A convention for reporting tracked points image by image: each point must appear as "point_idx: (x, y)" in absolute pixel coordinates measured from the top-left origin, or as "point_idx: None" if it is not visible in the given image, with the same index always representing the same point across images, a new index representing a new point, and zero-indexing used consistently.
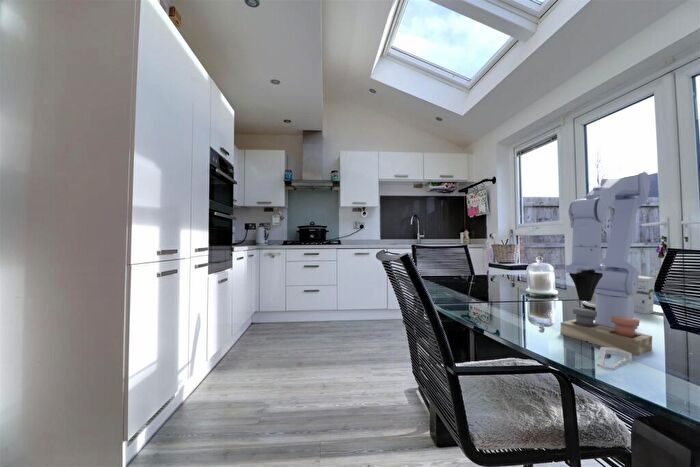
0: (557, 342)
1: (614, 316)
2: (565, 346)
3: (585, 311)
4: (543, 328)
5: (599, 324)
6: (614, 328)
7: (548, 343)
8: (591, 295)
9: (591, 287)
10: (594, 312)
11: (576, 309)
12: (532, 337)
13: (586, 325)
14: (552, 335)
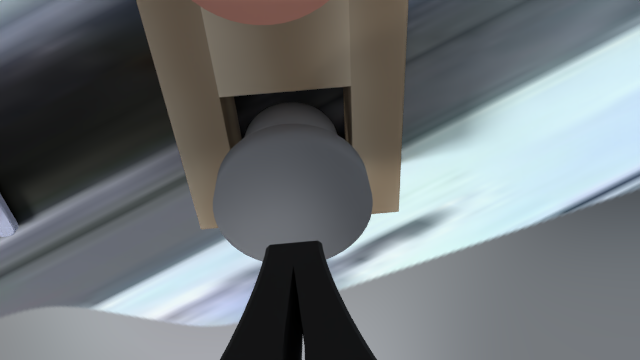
0: (549, 97)
1: (266, 5)
2: (589, 42)
3: (329, 189)
4: (365, 245)
5: (189, 110)
6: (181, 11)
7: (608, 104)
8: (290, 280)
9: (343, 352)
10: (290, 150)
11: (327, 240)
12: (569, 182)
13: (327, 121)
14: (445, 170)
